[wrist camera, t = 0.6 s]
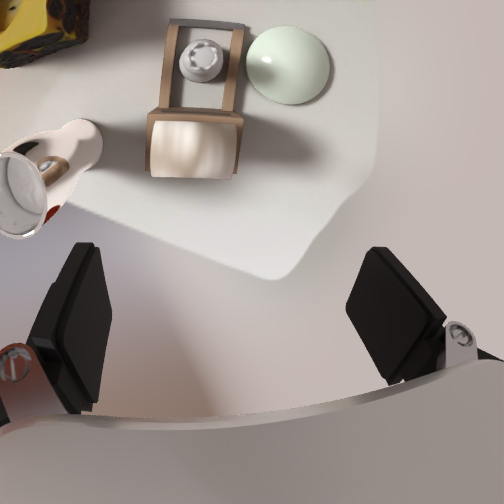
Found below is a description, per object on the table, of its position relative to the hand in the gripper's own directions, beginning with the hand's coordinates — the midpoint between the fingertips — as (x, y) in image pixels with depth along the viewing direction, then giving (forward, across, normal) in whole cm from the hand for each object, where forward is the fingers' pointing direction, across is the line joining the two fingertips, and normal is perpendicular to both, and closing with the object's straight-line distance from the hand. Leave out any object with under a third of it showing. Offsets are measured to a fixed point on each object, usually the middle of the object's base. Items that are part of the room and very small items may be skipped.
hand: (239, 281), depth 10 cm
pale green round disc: (+24, -8, -9) cm, 27 cm away
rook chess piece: (+24, +1, -8) cm, 26 cm away
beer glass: (+24, +14, +1) cm, 28 cm away
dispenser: (+24, +1, -6) cm, 25 cm away
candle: (+24, +19, -15) cm, 35 cm away
